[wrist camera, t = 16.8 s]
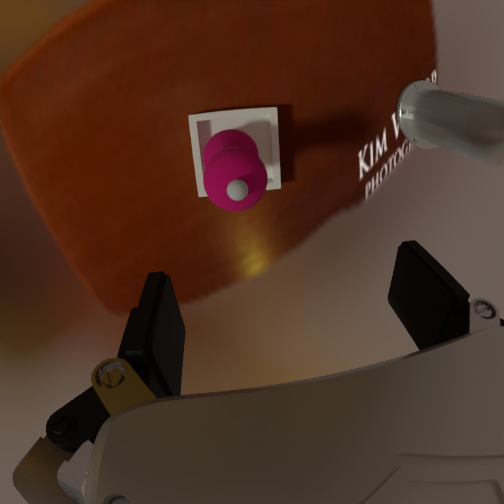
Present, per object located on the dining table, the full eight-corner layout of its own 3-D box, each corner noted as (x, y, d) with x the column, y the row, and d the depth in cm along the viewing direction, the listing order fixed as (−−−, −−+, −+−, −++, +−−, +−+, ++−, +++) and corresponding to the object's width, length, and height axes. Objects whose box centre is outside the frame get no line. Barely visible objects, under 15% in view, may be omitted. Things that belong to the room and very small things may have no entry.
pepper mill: (200, 169, 41) (185, 225, 24) (210, 121, 38) (203, 140, 21) (247, 178, 43) (268, 240, 26) (260, 132, 40) (293, 161, 22)
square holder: (273, 106, 39) (277, 107, 36) (277, 183, 45) (280, 188, 42) (190, 114, 38) (188, 115, 36) (199, 191, 44) (198, 197, 42)
